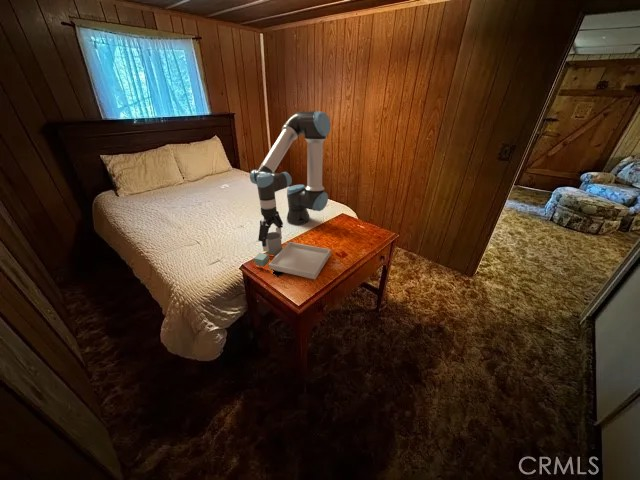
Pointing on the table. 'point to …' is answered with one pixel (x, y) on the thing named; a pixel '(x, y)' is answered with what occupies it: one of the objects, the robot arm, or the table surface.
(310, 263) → the shallow white dish
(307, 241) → the table surface
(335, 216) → the table surface
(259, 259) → the block
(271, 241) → the cup
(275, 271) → the smartphone
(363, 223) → the table surface
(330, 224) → the table surface
